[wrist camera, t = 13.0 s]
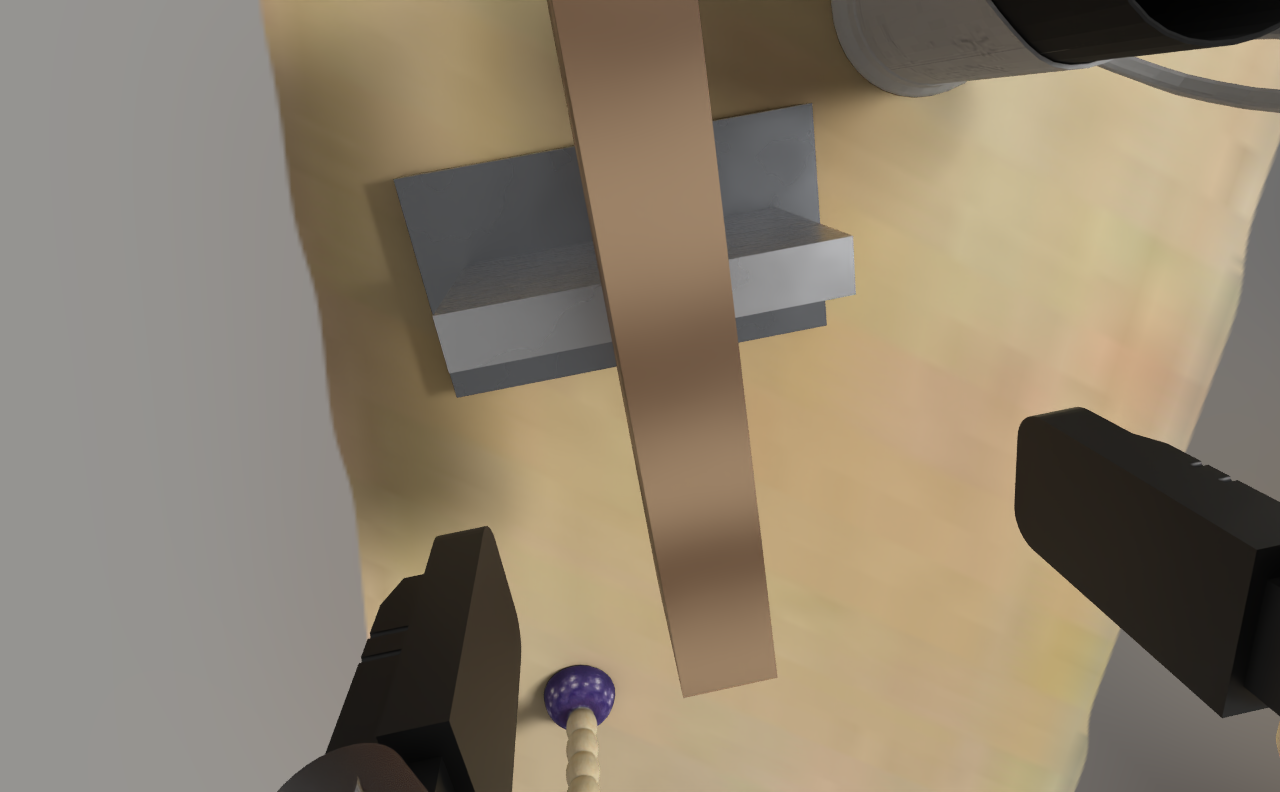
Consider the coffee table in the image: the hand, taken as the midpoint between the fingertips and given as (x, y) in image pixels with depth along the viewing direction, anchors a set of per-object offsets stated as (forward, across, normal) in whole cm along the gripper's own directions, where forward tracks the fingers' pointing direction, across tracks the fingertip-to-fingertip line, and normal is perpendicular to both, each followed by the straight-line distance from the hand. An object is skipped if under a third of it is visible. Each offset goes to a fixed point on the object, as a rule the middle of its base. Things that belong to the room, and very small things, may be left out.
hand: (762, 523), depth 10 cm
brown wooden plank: (+14, 0, 0) cm, 14 cm away
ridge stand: (+24, 0, 0) cm, 24 cm away
